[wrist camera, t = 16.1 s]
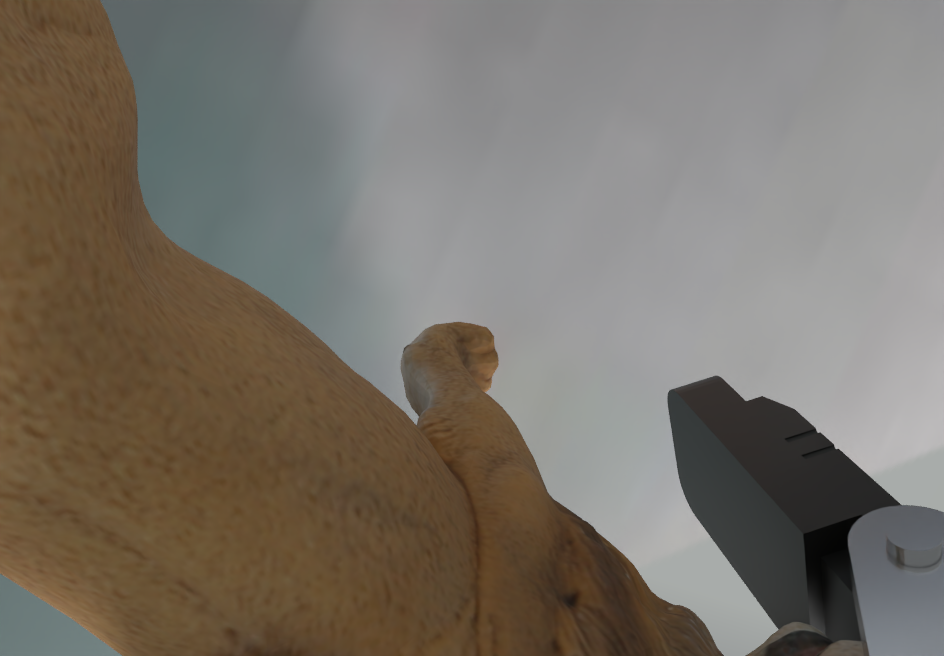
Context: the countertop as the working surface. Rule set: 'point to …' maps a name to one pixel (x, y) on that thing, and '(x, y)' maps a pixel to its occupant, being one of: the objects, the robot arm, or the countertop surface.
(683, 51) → the countertop surface
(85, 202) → the lion figurine
